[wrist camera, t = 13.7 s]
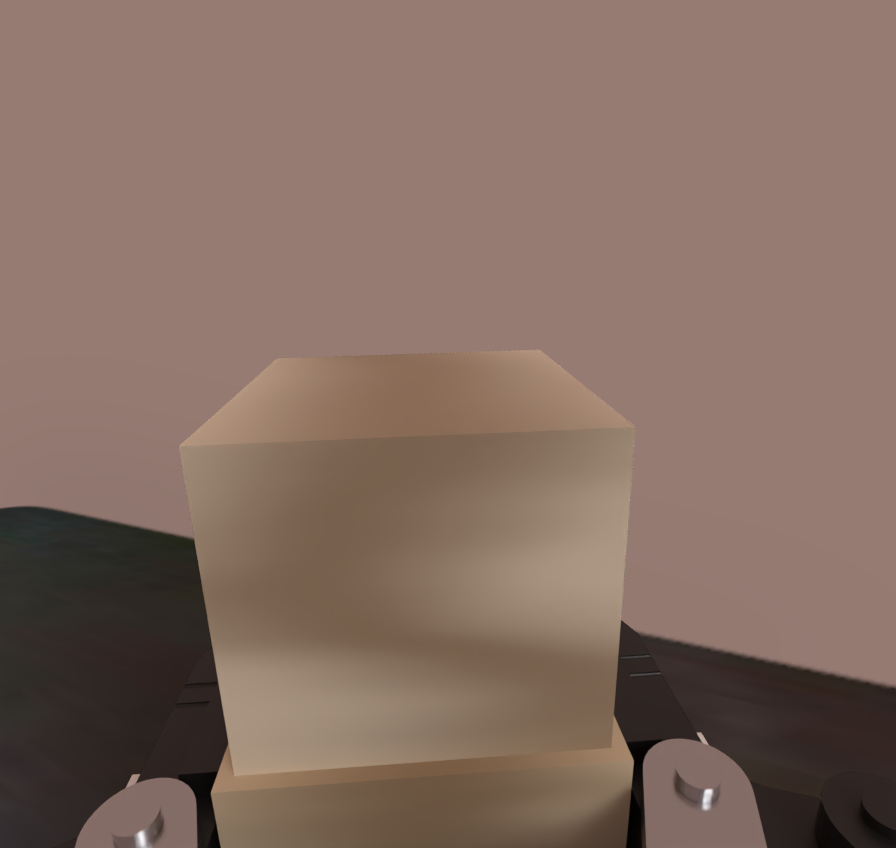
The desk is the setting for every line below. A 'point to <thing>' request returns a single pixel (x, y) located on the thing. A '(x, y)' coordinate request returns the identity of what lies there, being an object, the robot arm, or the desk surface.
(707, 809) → the robot arm
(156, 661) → the desk surface
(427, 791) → the wooden block tower
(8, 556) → the desk surface
